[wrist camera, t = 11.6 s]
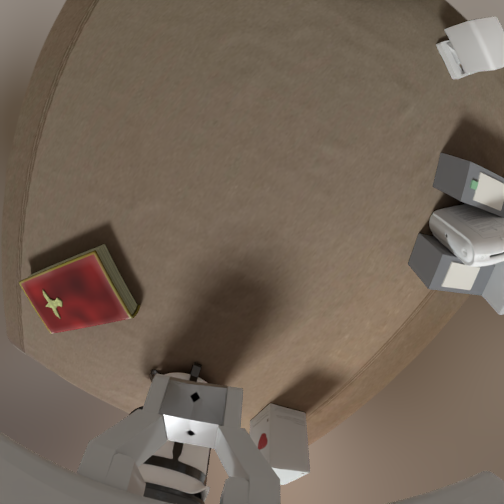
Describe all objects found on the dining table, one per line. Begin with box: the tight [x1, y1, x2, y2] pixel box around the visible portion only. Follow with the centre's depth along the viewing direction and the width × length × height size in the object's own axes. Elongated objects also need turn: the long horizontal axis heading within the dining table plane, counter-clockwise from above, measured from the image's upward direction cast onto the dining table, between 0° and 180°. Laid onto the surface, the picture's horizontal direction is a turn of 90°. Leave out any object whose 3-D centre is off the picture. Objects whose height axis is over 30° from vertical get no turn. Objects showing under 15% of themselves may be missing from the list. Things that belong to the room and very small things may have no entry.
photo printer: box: [429, 204, 504, 267], centre depth 30 cm, size 10×4×12 cm, turn 104°
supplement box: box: [249, 403, 310, 485], centre depth 49 cm, size 9×9×15 cm
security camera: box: [436, 17, 504, 79], centre depth 21 cm, size 6×7×10 cm
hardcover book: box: [19, 244, 140, 334], centre depth 42 cm, size 12×21×4 cm, turn 108°
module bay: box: [408, 153, 504, 315], centre depth 30 cm, size 17×13×12 cm
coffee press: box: [129, 363, 211, 504], centre depth 38 cm, size 17×16×30 cm
